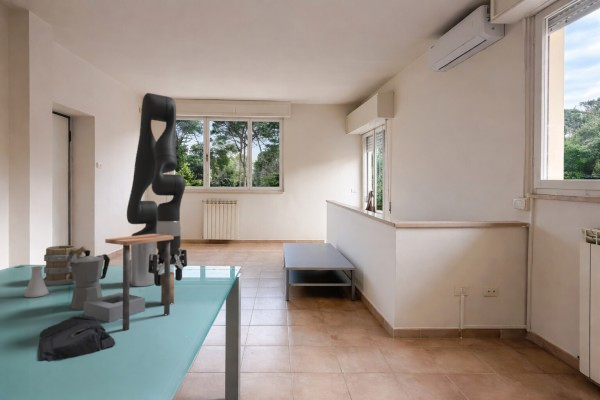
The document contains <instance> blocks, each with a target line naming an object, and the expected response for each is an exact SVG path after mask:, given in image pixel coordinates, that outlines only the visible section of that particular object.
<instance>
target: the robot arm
mask: <svg viewBox="0 0 600 400" xmlns="http://www.w3.org/2000/svg"><path fill="white" fill-rule="evenodd" d="M140 113H141V114H140V127H139V137H138V144H137V147H136V148H137V150H136V153H135V160H134V170H133V176H132V177H133V179H132V186H131V190H130V194H129V200H128V203H127V206H126V219H127V222H128V223H129V224H131V225H145V226H144V227H143V228H141V230H139V231H136V232H134V233H132V234H131V236H138V235H147V234H160V235H170V236H174V239H171V240H170V266H171V265H173V266H174V268H175V269H174V270H175V272H174V281H177V282H178V281H179V282H180V281H182V278H183V269H184V268H185V267H187V266H188V259H187V257H188V254H187V249H182V248H181V238H182V237H181V232H182V231H181V229H182V228H181V221H180V220H181V217H180V216H181V213H180V212H181V204H182V199H183V195H184V193H185V189H186V179H185V178H184V177H183V175H181V174H168V173H171V172H174V171H176V169H177V168H178V159H177V150H176V134H177V133H176V130H177V129H176V127H177V126H176V125H177V105H176V101H175V100H174V98H173V97H170V96H167V95H166V96H165V95H161V94H156V93H150V92H146V93H145V94H144V96H143V99H142V103H141V111H140ZM152 121H156V122H164V123H165V128H164V130H163V132H162V133H161V135H159V137H158V139H157V140H156V138H155V136H154V133H153V130H152ZM150 186H151V189H152V190H151V191H152V192H153V194H155V196H172V197H173V198H172V199H171V200H170V201H165V202H162V203H159V204H158V205H157V203H156V202H155V201H154V200H142V198H143V196H144V194H145V191H147V189H148V188H149V187H150ZM180 248H181V249H180ZM164 253H165V240H163V241H156V242H149V243H141V244H134V245H130V273H129V285H130V286H133V287H148V286H152V285H155V286H156V287H161V285H162V273H163V271H164Z"/></svg>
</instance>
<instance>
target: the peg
mask: <svg viewBox="0 0 600 400" xmlns="http://www.w3.org/2000/svg"><path fill="white" fill-rule="evenodd" d="M161 274H162V285H161V286H160V287H161V288H160V289H161V295H160V297H161V298H160V299H161V300H160V303H161V305H162V304H164V272H162V273H161ZM171 303H173V304H174V303H175V272H173V271H170V304H171ZM171 305H172V304H171Z"/></svg>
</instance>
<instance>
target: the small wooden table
mask: <svg viewBox="0 0 600 400" xmlns="http://www.w3.org/2000/svg"><path fill="white" fill-rule="evenodd" d="M171 239H174V236H170V235H160V234H147V235H138V236H132V235H129V236H123V237H122V236H121V237H113V238H111V237H110V238H105V239H104V241H105V244H112V245H113V244H114V245H119V246H122V293H123V318H122V331H128V330H130V316H129V295H130V284H129V273H130V260H131V245H134V244H141V243H149V242H156V243H157V241H163V240H165V253H164V269H163V271H164V272H163V273H164V305H163V315H164V314H169V315H170V312H171V310H170V309H171V308H170V307H171V305H170V272H171V265H170V240H171Z"/></svg>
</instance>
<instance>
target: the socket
mask: <svg viewBox="0 0 600 400" xmlns="http://www.w3.org/2000/svg"><path fill="white" fill-rule="evenodd" d="M145 311H146V298H145V297H141V296H137V295H134V294H129V317H130V316H133V315H136V314H139V313H142V312H145ZM83 316H84V317H94V318H95V319H96V320H100V321H103V322H106V323H112V322H114V321H115V322H116V321H118V320H121V319H123V292H116V293H112V294H109V295H105V296H102V297H101V298H97V299H93V300H89V301H85V302H84V310H83Z"/></svg>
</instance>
